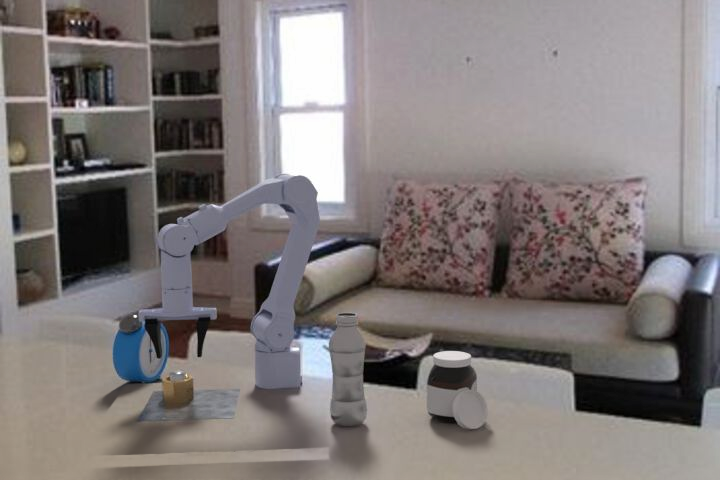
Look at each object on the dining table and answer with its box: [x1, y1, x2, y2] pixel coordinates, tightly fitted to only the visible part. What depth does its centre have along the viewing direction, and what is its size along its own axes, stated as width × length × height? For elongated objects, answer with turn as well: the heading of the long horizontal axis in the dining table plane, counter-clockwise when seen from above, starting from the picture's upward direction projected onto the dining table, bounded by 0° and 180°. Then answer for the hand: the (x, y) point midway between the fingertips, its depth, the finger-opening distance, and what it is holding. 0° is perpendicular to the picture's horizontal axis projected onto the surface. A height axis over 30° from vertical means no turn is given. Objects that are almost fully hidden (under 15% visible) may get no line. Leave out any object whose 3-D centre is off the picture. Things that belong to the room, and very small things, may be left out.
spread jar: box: [426, 350, 489, 430], centre depth 156 cm, size 12×11×12 cm
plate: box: [136, 370, 241, 422], centre depth 163 cm, size 17×18×6 cm
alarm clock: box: [112, 307, 170, 384], centre depth 183 cm, size 13×6×15 cm, turn 162°
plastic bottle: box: [328, 312, 368, 427], centre depth 154 cm, size 6×7×20 cm
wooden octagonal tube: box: [161, 373, 195, 403], centre depth 166 cm, size 6×6×4 cm
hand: (179, 356), depth 167 cm, fingers open, 7 cm apart
